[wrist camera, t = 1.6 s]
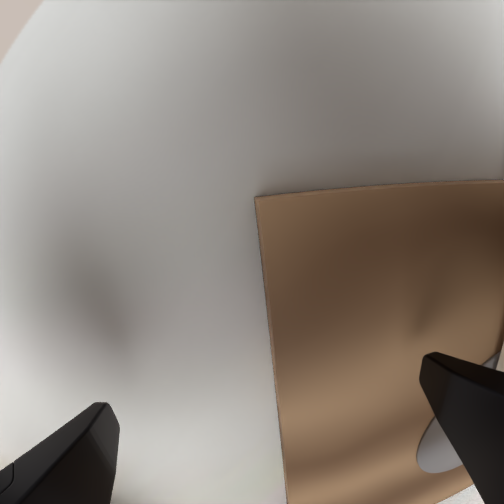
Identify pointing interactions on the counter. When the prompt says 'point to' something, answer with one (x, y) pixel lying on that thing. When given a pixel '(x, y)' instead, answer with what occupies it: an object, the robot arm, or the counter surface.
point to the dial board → (377, 330)
